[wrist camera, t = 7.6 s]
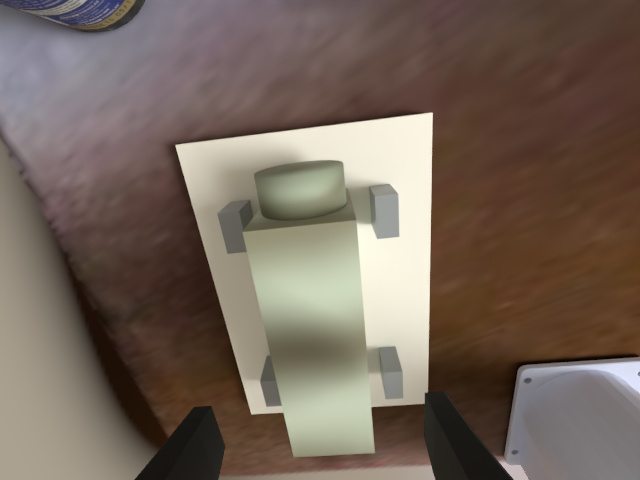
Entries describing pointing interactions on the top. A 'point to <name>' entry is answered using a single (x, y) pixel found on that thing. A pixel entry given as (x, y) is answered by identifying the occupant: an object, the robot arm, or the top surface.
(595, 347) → the top surface
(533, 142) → the top surface
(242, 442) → the top surface
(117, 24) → the pill bottle
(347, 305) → the tall single-stud brick
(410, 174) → the cradle jig
